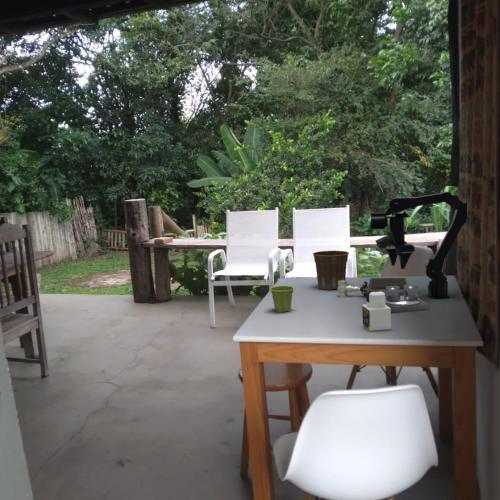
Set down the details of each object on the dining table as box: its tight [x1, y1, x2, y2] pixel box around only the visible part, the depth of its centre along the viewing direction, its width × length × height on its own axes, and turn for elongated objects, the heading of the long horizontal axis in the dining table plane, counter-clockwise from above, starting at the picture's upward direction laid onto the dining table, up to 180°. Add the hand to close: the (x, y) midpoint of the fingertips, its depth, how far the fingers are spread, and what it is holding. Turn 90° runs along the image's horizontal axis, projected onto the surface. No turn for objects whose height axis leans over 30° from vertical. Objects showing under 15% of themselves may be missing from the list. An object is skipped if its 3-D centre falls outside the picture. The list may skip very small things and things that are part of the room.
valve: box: [337, 279, 369, 298], centre depth 202 cm, size 7×7×12 cm
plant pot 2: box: [312, 250, 350, 291], centre depth 221 cm, size 16×16×16 cm
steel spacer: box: [385, 286, 401, 302], centre depth 181 cm, size 5×5×5 cm
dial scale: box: [385, 295, 430, 314], centre depth 181 cm, size 17×14×3 cm
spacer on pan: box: [403, 284, 419, 301], centre depth 181 cm, size 5×5×5 cm
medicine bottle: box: [361, 290, 392, 332], centre depth 157 cm, size 7×7×12 cm
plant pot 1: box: [269, 285, 295, 313], centre depth 186 cm, size 9×9×9 cm
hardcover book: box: [367, 277, 408, 293], centre depth 217 cm, size 16×23×2 cm
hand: (397, 267), depth 196 cm, fingers open, 9 cm apart
